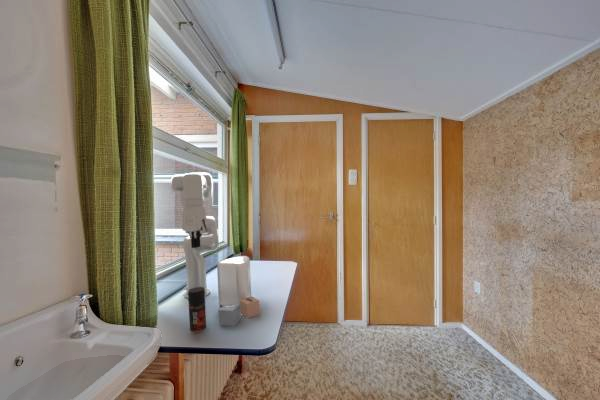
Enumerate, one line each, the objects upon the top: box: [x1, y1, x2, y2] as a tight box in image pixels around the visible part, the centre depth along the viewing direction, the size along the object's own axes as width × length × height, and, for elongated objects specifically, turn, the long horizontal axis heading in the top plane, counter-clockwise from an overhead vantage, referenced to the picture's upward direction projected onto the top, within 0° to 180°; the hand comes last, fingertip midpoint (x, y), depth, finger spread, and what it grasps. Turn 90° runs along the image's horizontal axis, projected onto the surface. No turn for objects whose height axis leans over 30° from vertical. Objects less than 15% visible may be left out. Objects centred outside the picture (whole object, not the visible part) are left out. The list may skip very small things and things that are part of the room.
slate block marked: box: [218, 304, 241, 327], centre depth 107 cm, size 6×6×6 cm
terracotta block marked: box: [240, 295, 261, 319], centre depth 114 cm, size 6×6×6 cm
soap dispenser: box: [216, 255, 252, 307], centre depth 126 cm, size 15×14×22 cm
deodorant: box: [188, 287, 207, 333], centre depth 103 cm, size 6×6×15 cm
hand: (196, 247), depth 111 cm, fingers closed
